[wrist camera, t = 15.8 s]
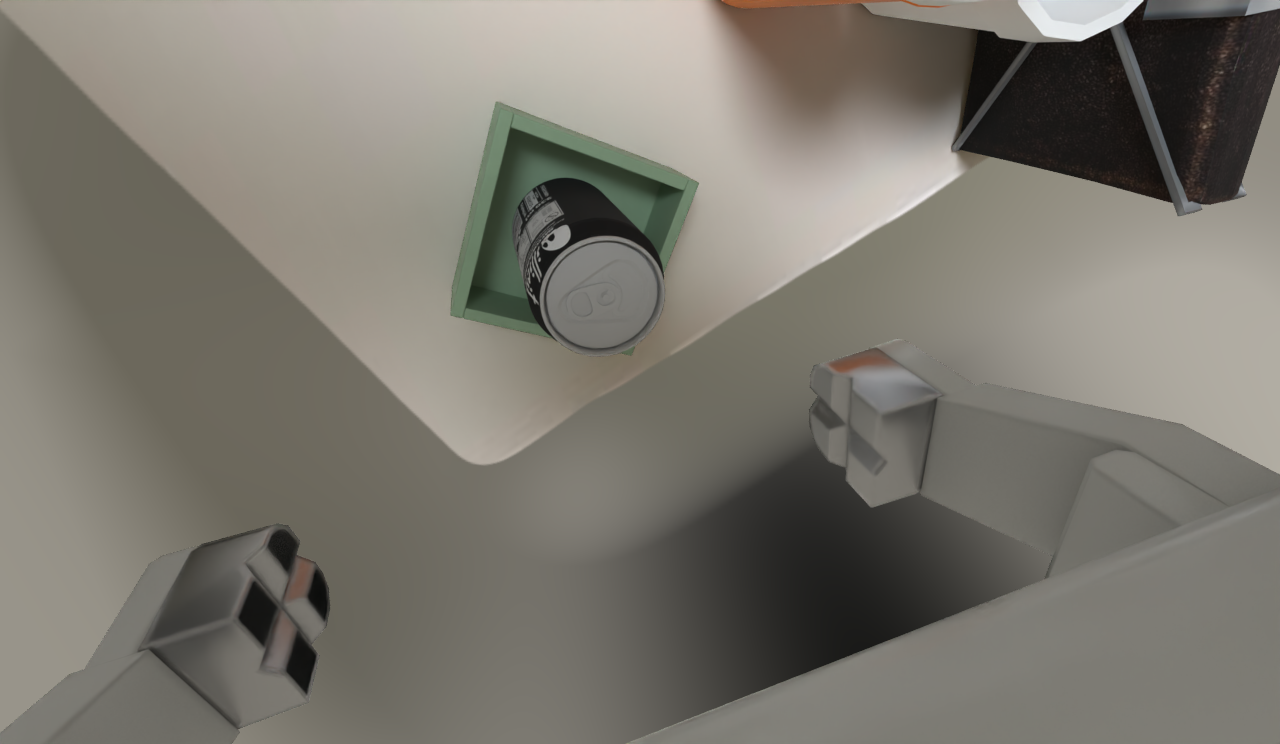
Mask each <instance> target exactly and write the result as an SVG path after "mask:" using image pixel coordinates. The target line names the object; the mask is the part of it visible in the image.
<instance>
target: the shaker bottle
mask: <svg viewBox="0 0 1280 744" xmlns="http://www.w3.org/2000/svg"><path fill="white" fill-rule="evenodd" d="M721 1H723V2H724V3H726V4H728V5H731V6H734V7H737V8H769V7H791V6H812V5H833V4H855V3H876V2H898V1H903V2H905V3H908V4H911V5H914V6H917V7H933V8H940V7H945V6H949V5H956V4H965V3H974V2H979V1H984V0H721Z"/></svg>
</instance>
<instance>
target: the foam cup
mask: <svg viewBox="0 0 1280 744" xmlns="http://www.w3.org/2000/svg"><path fill="white" fill-rule="evenodd" d="M1143 1H1144V0H984V1H979V2H974V3H965V4H956V5H949V6H945V7H940V8H933V7H917V6H914V5H911V4H908V3H905V2H903V1H898V2H876V3H862V4H863V5H864V6H865V7H866V8H867V9H868V10H869V11H870V12H871V13H872V14H876V15H881V16H888V17H895V18H902V19H909V20H916V21H923V22H930V23H937V24H944V25H951V26H958V27H965V28H972V29H979V30H986V31H993V32H995V33H996V34H997V35H998V37H999V38H1006V39H1013V40H1020V41H1027V42H1075V41H1082V40H1085V39H1087V38H1089V37H1091V36H1093V35H1095V34H1097V33H1100V32H1102V31H1104V30H1106V29H1108V28H1110V27H1112V26H1114V25H1117V24H1119V23H1121V22H1123V21H1124V20H1125V19H1126V18H1127V17H1128V16H1129V15H1130V14H1131V13H1132V12H1133V11H1134V10H1135V9H1136V8H1137V7H1138V6H1139V5H1140V4H1141V3H1142V2H1143Z"/></svg>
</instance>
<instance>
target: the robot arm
mask: <svg viewBox="0 0 1280 744" xmlns="http://www.w3.org/2000/svg"><path fill="white" fill-rule="evenodd" d="M810 388H811V389H812V390H813V391H814V392H815V393H816V394H817V395H818V396H817V398H816V400H815V401H814V403H813V404H812V406H811V408H810V409H809V421H810V429H811V432H812V435H813V438H814V441H815V443H816V445H817V446H818V448H819V450H820V452H821V453H822V454H823V455H824V456H825V457H826V458H827V460H828V461H829V462H831V463H834V464H837V465H840V466H842V467H845V468H846V478H845V479H846V481H847V482H848V483H849V484H850V485H851V486H852V487H853V488H854V490H855V491H856V492H857V493H858V494H859V495H860V496H861V497H862V498H863V499H864V500H865V502H867V504H868V505H869V506H870V507H871V508H872V507H875V506H878V505H881V504H884V503H887V502H890V501H894V500H897V499H900V498H903V497H906V496H910V495H913V494H916V493H919V492H921V494H920V495H922V496H924V497H926V498H928V499H930V500H933V501H935V502H937V503H939V504H941V505H943V506H945V507H947V508H950V509H952V510H954V511H956V512H958V513H960V514H963V515H965V516H967V517H969V518H971V519H973V520H975V521H978V522H980V523H982V524H984V525H986V526H988V527H991V528H993V529H995V530H997V531H999V532H1001V533H1003V534H1006V535H1008V536H1010V537H1012V538H1014V539H1017V540H1018V541H1021V542H1023V543H1025V544H1027V545H1029V546H1031V547H1034V548H1036V549H1038V550H1040V551H1042V552H1044V553H1047V554H1049V555H1051V556H1053V558H1052V560H1051V563H1050V565H1049V568H1048V571H1047V573H1046V576H1045V578H1044V580H1042V581H1039V582H1037V583H1034V584H1032V585H1029V586H1027V587H1024V588H1021V589H1019V590H1017V591H1014V592H1011V593H1009V594H1006V595H1004V596H1001V597H999V598H996V599H993V600H991V601H988V602H986V603H983V604H981V605H978V606H976V607H973V608H970V609H968V610H966V611H963V612H960V613H958V614H955V615H953V616H950V617H948V618H945V619H942V620H940V621H937V622H935V623H932V624H930V625H927V626H925V627H922V628H919V629H917V630H914V631H912V632H909V633H907V634H904V635H902V636H899V637H897V638H894V639H891V640H889V641H886V642H884V643H881V644H879V645H877V646H874V647H871V648H869V649H866V650H863V651H861V652H859V653H856V654H853V655H851V656H848V657H846V658H843V659H840V660H838V661H836V662H833V663H830V664H828V665H825V666H823V667H820V668H818V669H815V670H813V671H810V672H808V673H805V674H802V675H800V676H797V677H795V678H792V679H790V680H787V681H785V682H782V683H779V684H777V685H774V686H772V687H769V688H767V689H764V690H761V691H759V692H756V693H754V694H751V695H749V696H747V697H744V698H741V699H739V700H736V701H734V702H731V703H728V704H726V705H724V706H721V707H718V708H716V709H713V710H710V711H708V712H705V713H703V714H700V715H698V716H695V717H693V718H690V719H688V720H685V721H683V722H680V723H678V724H675V725H672V726H670V727H667V728H665V729H662V730H660V731H657V732H655V733H652V734H650V735H647V736H644V737H642V738H639V739H637V740H634V741H632V742H629V743H627V744H1280V474H1277V473H1276V472H1274V471H1271V470H1270V469H1268V468H1266V467H1264V466H1262V465H1260V464H1258V463H1256V462H1254V461H1252V460H1250V459H1248V458H1247V457H1245V456H1242V455H1241V454H1239V453H1237V452H1235V451H1233V450H1231V449H1229V448H1227V447H1225V446H1223V445H1221V444H1219V443H1217V442H1216V441H1214V440H1211V439H1210V438H1208V437H1206V436H1204V435H1202V434H1200V433H1198V432H1196V431H1194V430H1192V429H1190V428H1188V427H1186V426H1185V425H1183V424H1178V423H1174V422H1169V421H1164V420H1160V419H1154V418H1150V417H1145V416H1140V415H1136V414H1131V413H1126V412H1121V411H1117V410H1112V409H1107V408H1102V407H1098V406H1093V405H1088V404H1083V403H1078V402H1073V401H1069V400H1064V399H1060V398H1055V397H1050V396H1045V395H1041V394H1036V393H1031V392H1026V391H1021V390H1016V389H1012V388H1007V387H1002V386H998V385H993V384H988V383H983V384H980V385H977V386H976V385H975V384H973V383H972V382H970V381H969V380H967V379H965V378H964V377H962V376H961V375H959V374H958V373H956V372H955V371H953V370H951V369H950V368H948V367H947V366H945V365H944V364H942V363H940V362H939V361H937V360H936V359H934V358H933V357H931V356H929V355H928V354H926V353H925V352H923V351H922V350H920V349H918V348H917V347H915V346H914V345H912V344H911V343H909V342H907V341H905V340H899V339H895V340H892V341H889V342H886V343H883V344H880V345H877V346H874V347H871V348H869V349H868V350H865V351H861V352H858V353H854V354H851V355H848V356H844V357H841V358H838V359H834V360H831V361H828V362H825V363H821V364H818V365H814V366H813V369H812V371H811V374H810ZM299 544H300V540H299V539H298V538H297V536H296V535H295V534H294V532H293V531H292V530H291V529H290V527H289V526H288V525H283V524H274V525H270V526H266V527H263V528H259V529H256V530H252V531H248V532H245V533H241V534H237V535H233V536H230V537H226V538H222V539H219V540H215V541H211V542H208V543H204V544H202V545H200V546H194V547H191V548H187V549H184V550H180V551H177V552H173V553H170V554H166V555H163V556H161V557H159V558H158V559H156V560H154V561H153V562H151V563H150V564H149V565H148V567H147V568H146V570H145V572H144V573H143V575H142V577H141V578H140V580H139V581H138V583H137V584H136V586H135V588H134V590H133V591H132V593H131V594H130V596H129V597H128V599H127V601H126V602H125V604H124V606H123V607H122V609H121V610H120V612H119V614H118V616H117V617H116V619H115V620H114V622H113V624H112V625H111V627H110V628H109V630H108V632H107V633H106V635H105V636H104V638H103V640H102V641H101V643H100V645H99V646H98V648H97V649H96V651H95V653H94V654H93V656H92V658H91V659H90V661H89V663H88V664H87V666H86V667H85V669H84V670H81V671H78V672H75V673H72V674H69V675H68V676H67V677H66V678H64V679H63V680H62V681H61V682H60V683H59V684H57V685H56V686H55V687H54V688H53V689H51V690H50V691H49V692H48V693H47V694H46V695H44V696H43V697H42V698H41V699H40V700H38V701H37V702H36V703H35V704H34V705H33V706H31V707H30V708H29V709H28V710H27V711H26V712H24V713H23V714H22V715H21V716H20V717H19V718H18V719H16V720H15V721H14V722H13V723H12V724H10V725H9V726H8V727H7V728H6V729H4V730H3V731H2V732H1V733H0V744H232V743H233V741H234V740H235V739H236V737H237V736H238V734H239V733H240V732H239V730H238V729H240V728H243V727H245V726H248V725H250V724H253V723H256V722H259V721H261V720H264V719H267V718H269V717H272V716H274V715H277V714H280V713H283V712H285V711H288V710H290V709H293V708H296V707H299V706H301V705H304V704H306V703H308V702H309V698H310V694H311V690H312V685H313V681H314V677H315V673H316V669H317V664H318V660H319V654H318V653H317V652H316V650H315V649H314V648H313V647H312V643H313V642H314V641H315V640H316V638H317V637H318V636H319V635H320V634H321V632H322V631H323V630H324V629H325V628H326V626H327V621H328V616H329V611H330V600H329V588H328V585H327V582H326V580H325V577H324V575H323V573H322V571H321V570H320V568H319V567H318V565H317V564H316V562H314V561H311V560H309V559H306V558H303V557H301V556H298V555H297V551H298V547H299Z"/></svg>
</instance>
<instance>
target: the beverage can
mask: <svg viewBox="0 0 1280 744" xmlns="http://www.w3.org/2000/svg"><path fill="white" fill-rule="evenodd" d="M512 238H513V244H514V248H515V251H516V255H517V259H518V263H519V267H520V271H521V275H522V279H523V283H524V287H525V291H526V294H527V298H528V302H529V306H530V309H531V312H532V314H533V316H534V318H535V320H536V321H537V323H538V324H539V325H540V327H541V328H542V329H543V330H544V331H545V332H546V333H547V334H548V335H549V336H551V337H552V338H553V339H555V340H556V341H558V342H559V343H560V344H562V345H563V346H564V347H566V348H568V349H569V350H571V351H574V352H576V353H579V354H582V355H587V356H597V357H601V356H610V355H615V354H618V353H621V352H623V351H626V350H628V349H630V348H632V347H633V346H635V345H637V344H638V343H639V342H641V341H642V340H643V339H644V338H645V337H646V336H647V335H648V334H649V333H650V332H651V330H652V329H653V328H654V326H655V325H656V323H657V321H658V320H659V317H660V315H661V313H662V310H663V305H664V301H665V285H664V272H663V266H662V262H661V259H660V257H659V254H658V252H657V250H656V249H655V247H654V245H653V244H652V243H651V241H650V240H649V239H648V238H647V237H646V236H645V235H644V234H643V233H642V232H641V231H640V230H639V229H638V228H637V227H636V226H635V225H634V224H633V223H632V222H631V221H630V220H629V219H628V218H627V217H626V216H625V215H624V214H623V213H622V212H621V211H620V210H619V209H618V208H617V207H616V206H615V205H614V204H613V203H612V202H611V201H610V200H609V199H608V198H607V197H606V196H605V195H604V194H603V193H602V192H601V191H600V190H599V189H598V188H596V187H595V186H593V185H592V184H590V183H588V182H585V181H583V180H579V179H575V178H556V179H552V180H548V181H546V182H543V183H541V184H539V185H538V186H536V187H535V188H533V189H532V190H531V191H530V192H529V193H528V194H527V195H526V196H525V197H524V198H523V199H522V201H521V202H520V204H519V206H518V208H517V210H516V212H515V215H514V219H513V224H512Z"/></svg>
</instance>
